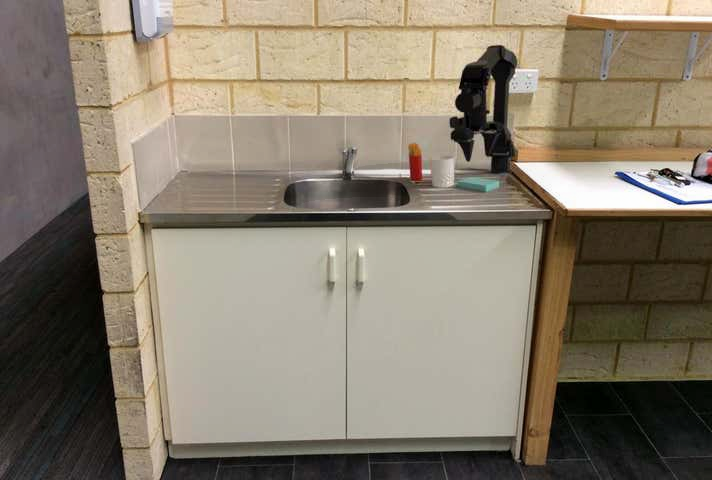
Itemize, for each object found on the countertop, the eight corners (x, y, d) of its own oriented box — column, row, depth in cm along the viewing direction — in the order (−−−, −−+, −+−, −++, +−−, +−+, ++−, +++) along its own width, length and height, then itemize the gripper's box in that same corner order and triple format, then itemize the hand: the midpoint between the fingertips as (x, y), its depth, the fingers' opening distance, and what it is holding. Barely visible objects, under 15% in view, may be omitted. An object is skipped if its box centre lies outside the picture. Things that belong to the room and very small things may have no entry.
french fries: (422, 183, 205) (420, 145, 200) (410, 184, 205) (408, 146, 201) (422, 177, 213) (420, 140, 209) (410, 178, 214) (408, 141, 209)
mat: (473, 184, 198) (473, 181, 198) (503, 189, 189) (503, 186, 189) (453, 191, 192) (453, 188, 192) (483, 196, 183) (483, 193, 183)
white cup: (454, 190, 193) (453, 159, 190) (430, 191, 195) (428, 160, 192) (456, 184, 200) (455, 154, 197) (432, 184, 202) (430, 155, 199)
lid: (471, 182, 196) (471, 176, 196) (499, 187, 188) (499, 181, 188) (458, 187, 192) (457, 181, 192) (486, 192, 184) (485, 185, 184)
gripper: (475, 102, 194) (476, 150, 199) (435, 111, 183) (438, 161, 188) (504, 103, 186) (504, 153, 191) (464, 112, 174) (466, 165, 180)
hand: (477, 158), depth 187 cm, fingers open, 9 cm apart
